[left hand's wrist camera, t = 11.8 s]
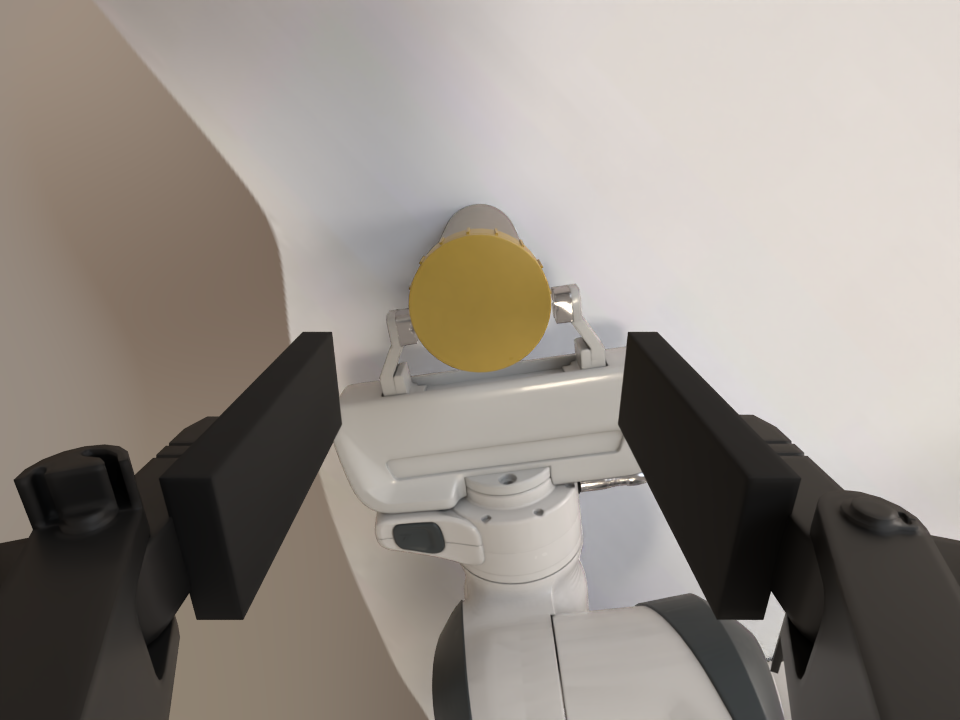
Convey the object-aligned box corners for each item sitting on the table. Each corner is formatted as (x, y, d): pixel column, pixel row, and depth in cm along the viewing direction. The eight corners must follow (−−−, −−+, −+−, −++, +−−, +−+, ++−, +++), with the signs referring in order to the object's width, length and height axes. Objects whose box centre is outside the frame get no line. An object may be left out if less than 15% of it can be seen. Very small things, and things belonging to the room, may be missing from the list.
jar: (478, 293, 37) (477, 384, 22) (427, 240, 35) (391, 301, 21) (532, 244, 35) (567, 306, 21) (481, 187, 34) (482, 213, 20)
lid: (477, 381, 24) (476, 399, 22) (385, 292, 22) (377, 304, 20) (573, 298, 22) (581, 310, 21) (483, 197, 21) (483, 200, 19)
